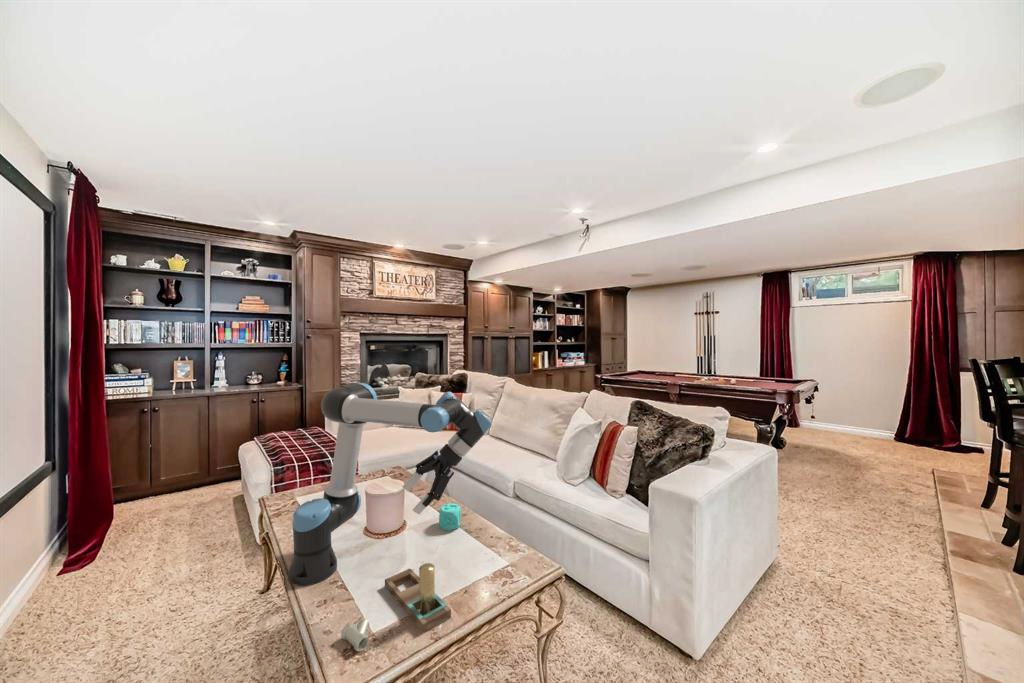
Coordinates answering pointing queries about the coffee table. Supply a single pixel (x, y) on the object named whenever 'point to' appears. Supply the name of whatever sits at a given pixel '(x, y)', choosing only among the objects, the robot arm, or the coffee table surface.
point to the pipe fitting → (356, 634)
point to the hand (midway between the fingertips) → (410, 500)
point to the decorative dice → (450, 516)
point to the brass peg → (427, 588)
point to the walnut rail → (416, 601)
